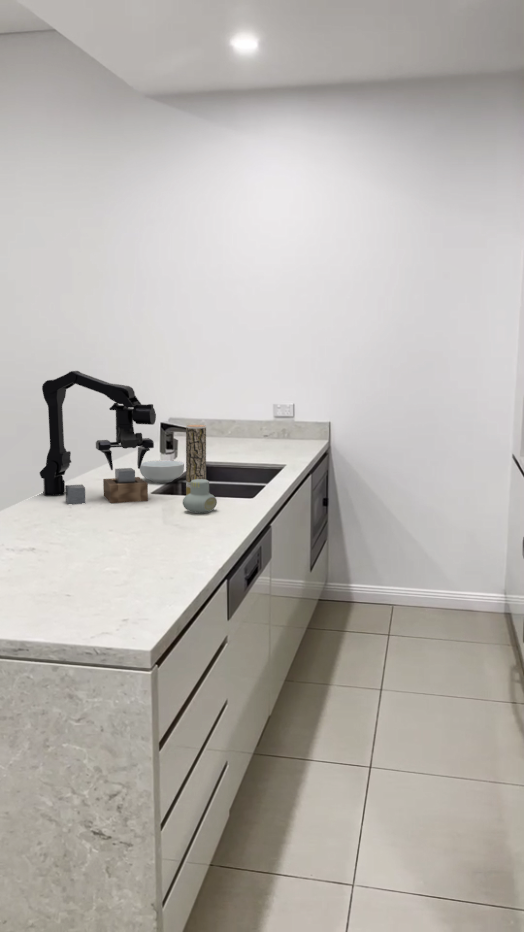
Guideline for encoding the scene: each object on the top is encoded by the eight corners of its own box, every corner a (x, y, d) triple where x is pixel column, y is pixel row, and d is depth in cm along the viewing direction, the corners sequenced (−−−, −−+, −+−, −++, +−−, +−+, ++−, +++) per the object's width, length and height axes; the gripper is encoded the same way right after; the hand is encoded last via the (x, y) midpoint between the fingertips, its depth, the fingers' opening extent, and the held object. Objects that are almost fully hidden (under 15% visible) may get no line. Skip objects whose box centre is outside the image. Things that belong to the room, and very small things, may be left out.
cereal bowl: (188, 477, 315) (188, 460, 314) (179, 486, 299) (179, 467, 297) (145, 476, 317) (145, 458, 315) (134, 484, 300) (134, 465, 299)
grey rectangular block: (118, 500, 272) (118, 471, 270) (115, 497, 277) (115, 468, 275) (135, 499, 274) (134, 470, 272) (131, 496, 279) (131, 467, 277)
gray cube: (68, 504, 265) (67, 488, 264) (65, 501, 270) (65, 485, 269) (85, 503, 267) (85, 487, 266) (82, 500, 272) (82, 484, 271)
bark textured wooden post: (202, 500, 274) (203, 427, 270) (183, 499, 275) (183, 426, 271) (208, 496, 280) (208, 425, 276) (189, 495, 282) (189, 424, 277)
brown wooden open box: (110, 503, 268) (110, 485, 266) (103, 495, 279) (103, 478, 278) (147, 500, 272) (147, 483, 271) (139, 493, 284) (139, 476, 283)
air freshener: (199, 506, 264) (199, 476, 263) (220, 510, 260) (220, 479, 258) (179, 513, 255) (178, 481, 253) (200, 516, 251) (200, 484, 249)
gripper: (101, 427, 260) (102, 475, 263) (157, 425, 267) (158, 471, 270) (94, 423, 271) (96, 469, 273) (149, 421, 277) (150, 466, 280)
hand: (125, 469), depth 274 cm, fingers open, 9 cm apart
